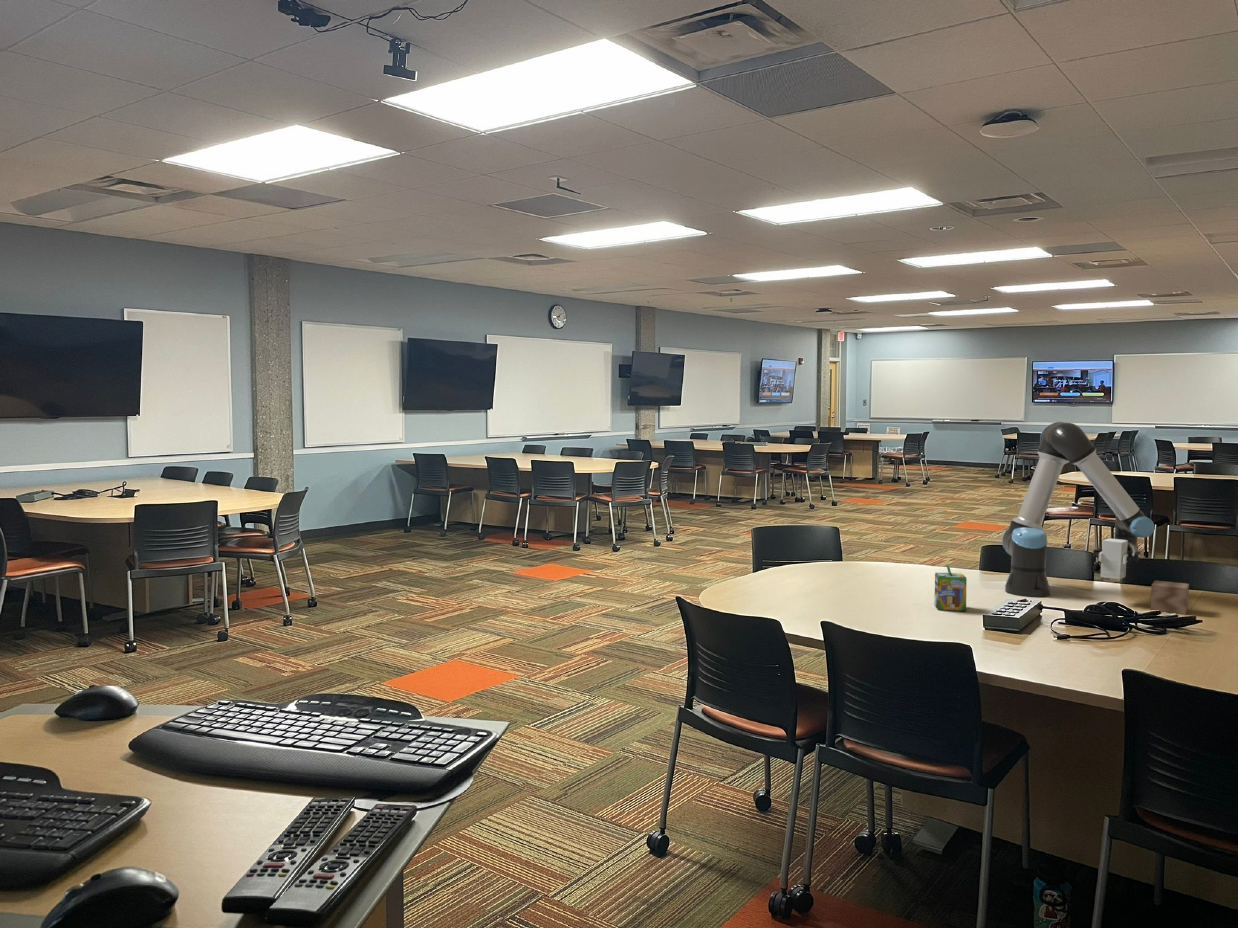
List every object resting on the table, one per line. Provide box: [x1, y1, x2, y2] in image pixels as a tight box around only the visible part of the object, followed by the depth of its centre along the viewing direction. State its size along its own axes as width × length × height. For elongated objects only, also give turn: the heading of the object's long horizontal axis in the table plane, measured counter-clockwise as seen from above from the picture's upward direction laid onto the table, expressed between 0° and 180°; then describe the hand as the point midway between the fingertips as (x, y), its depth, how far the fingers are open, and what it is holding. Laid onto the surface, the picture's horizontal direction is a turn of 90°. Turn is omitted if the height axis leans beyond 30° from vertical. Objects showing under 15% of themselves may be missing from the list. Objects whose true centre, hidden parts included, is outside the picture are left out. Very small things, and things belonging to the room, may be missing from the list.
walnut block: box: [1149, 579, 1190, 616], centre depth 307 cm, size 10×10×9 cm
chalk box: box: [933, 563, 967, 612], centre depth 306 cm, size 9×9×15 cm
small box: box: [1100, 537, 1128, 580], centre depth 316 cm, size 8×6×13 cm
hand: (1111, 558), depth 312 cm, fingers closed on small box, 7 cm apart
